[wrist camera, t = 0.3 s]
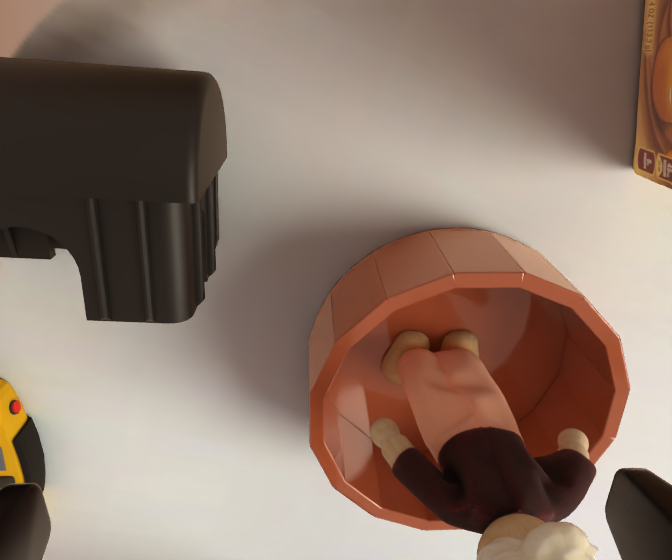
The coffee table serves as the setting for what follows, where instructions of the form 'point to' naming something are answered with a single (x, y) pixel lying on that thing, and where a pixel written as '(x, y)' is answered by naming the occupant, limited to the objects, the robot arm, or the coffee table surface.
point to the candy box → (655, 96)
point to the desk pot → (436, 322)
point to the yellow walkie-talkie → (18, 442)
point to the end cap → (114, 180)
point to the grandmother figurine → (482, 455)
